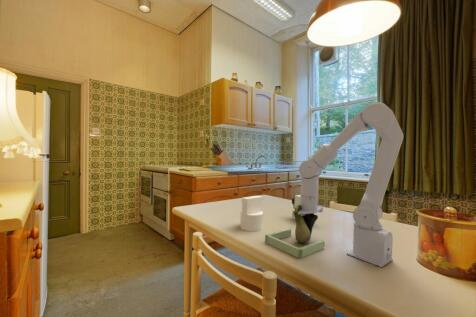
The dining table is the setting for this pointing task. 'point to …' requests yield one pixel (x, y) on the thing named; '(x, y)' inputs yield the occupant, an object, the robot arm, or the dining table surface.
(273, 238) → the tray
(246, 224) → the cylinder with rectangular tab
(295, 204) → the pneumatic valve
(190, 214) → the dining table surface
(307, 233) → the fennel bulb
